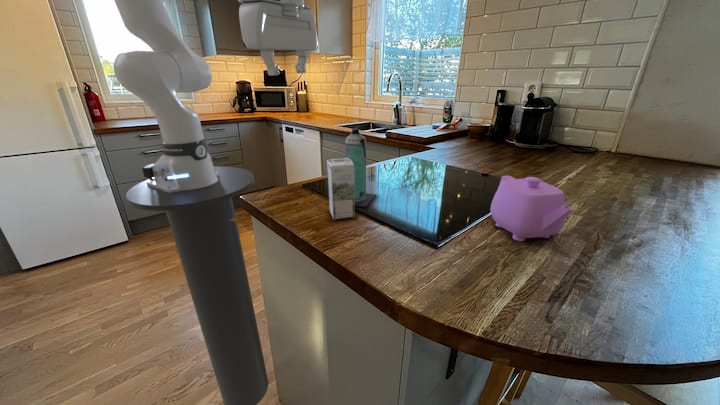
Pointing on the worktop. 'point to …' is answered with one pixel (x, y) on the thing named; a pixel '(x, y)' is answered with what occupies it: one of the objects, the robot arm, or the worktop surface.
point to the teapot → (529, 208)
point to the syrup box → (341, 188)
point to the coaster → (365, 201)
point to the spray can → (357, 162)
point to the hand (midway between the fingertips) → (288, 74)
